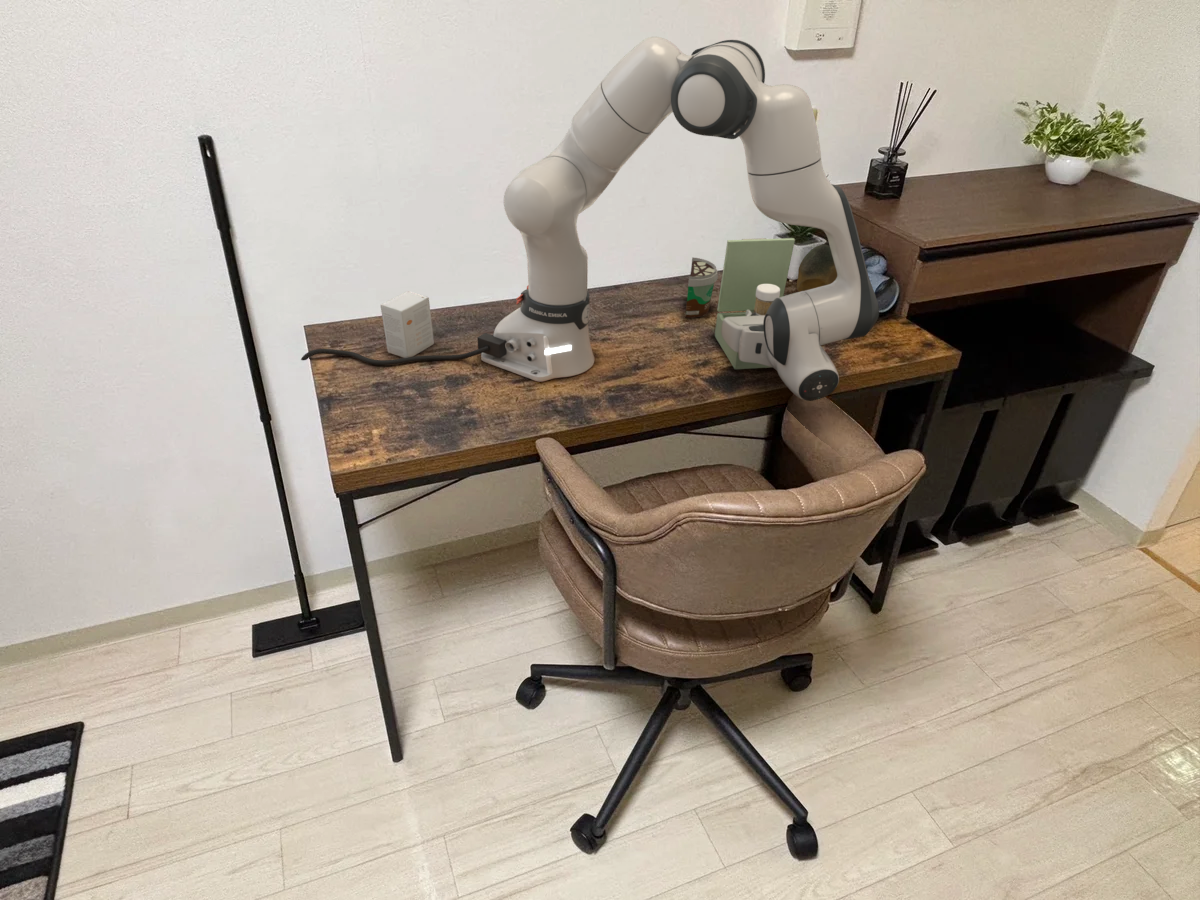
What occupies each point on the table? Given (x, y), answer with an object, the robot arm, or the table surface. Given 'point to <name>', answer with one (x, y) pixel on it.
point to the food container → (700, 287)
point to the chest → (728, 351)
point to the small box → (407, 324)
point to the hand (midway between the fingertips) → (762, 312)
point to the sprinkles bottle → (765, 297)
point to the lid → (753, 270)
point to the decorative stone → (816, 269)
